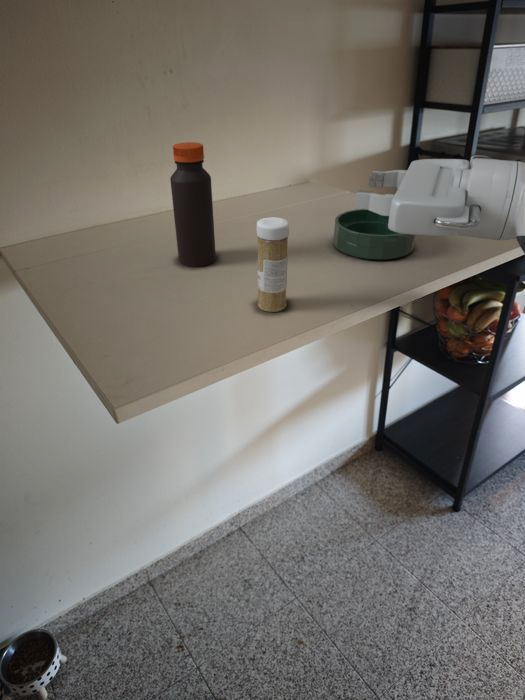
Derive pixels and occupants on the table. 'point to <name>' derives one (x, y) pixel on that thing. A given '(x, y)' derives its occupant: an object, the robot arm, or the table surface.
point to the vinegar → (192, 206)
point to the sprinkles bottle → (272, 263)
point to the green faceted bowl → (370, 236)
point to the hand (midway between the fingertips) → (362, 188)
